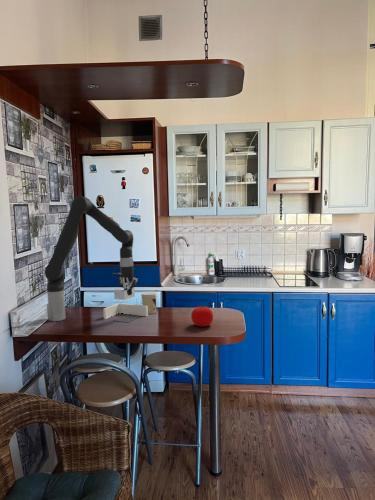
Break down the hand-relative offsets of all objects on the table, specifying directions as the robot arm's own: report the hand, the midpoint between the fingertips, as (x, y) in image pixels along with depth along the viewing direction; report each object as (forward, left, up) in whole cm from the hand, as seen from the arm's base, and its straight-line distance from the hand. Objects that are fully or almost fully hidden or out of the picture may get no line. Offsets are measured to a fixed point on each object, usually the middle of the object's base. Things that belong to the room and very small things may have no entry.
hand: (128, 294), depth 215 cm
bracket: (-3, 0, -2) cm, 3 cm away
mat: (-1, -1, -14) cm, 14 cm away
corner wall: (-4, +2, -14) cm, 15 cm away
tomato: (+45, +3, -14) cm, 47 cm away
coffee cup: (+4, +16, -14) cm, 22 cm away
